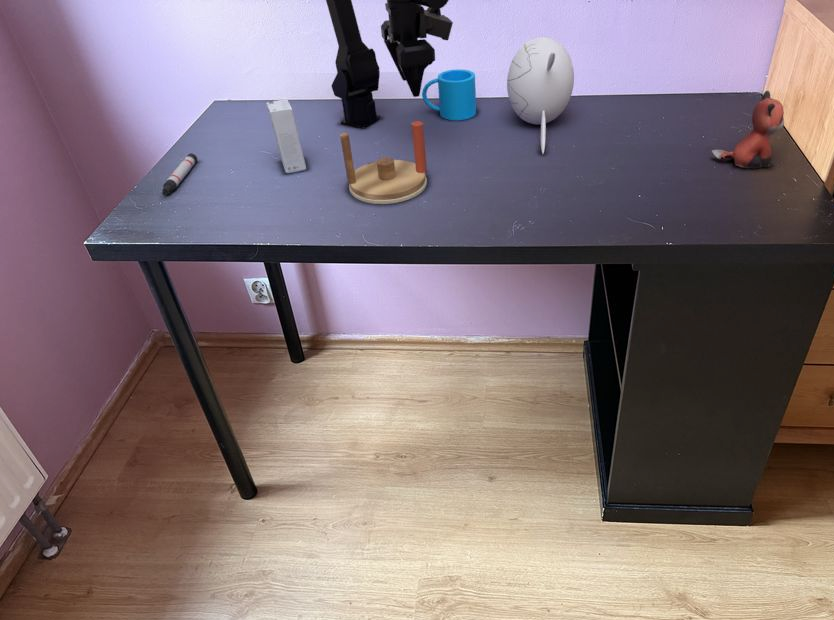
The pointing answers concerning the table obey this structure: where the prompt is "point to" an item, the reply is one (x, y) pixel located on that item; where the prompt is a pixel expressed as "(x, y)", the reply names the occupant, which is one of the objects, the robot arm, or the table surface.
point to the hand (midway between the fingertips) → (410, 88)
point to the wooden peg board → (387, 171)
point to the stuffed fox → (757, 136)
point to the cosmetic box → (286, 135)
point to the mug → (454, 94)
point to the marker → (179, 174)
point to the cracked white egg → (540, 82)
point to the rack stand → (389, 201)
